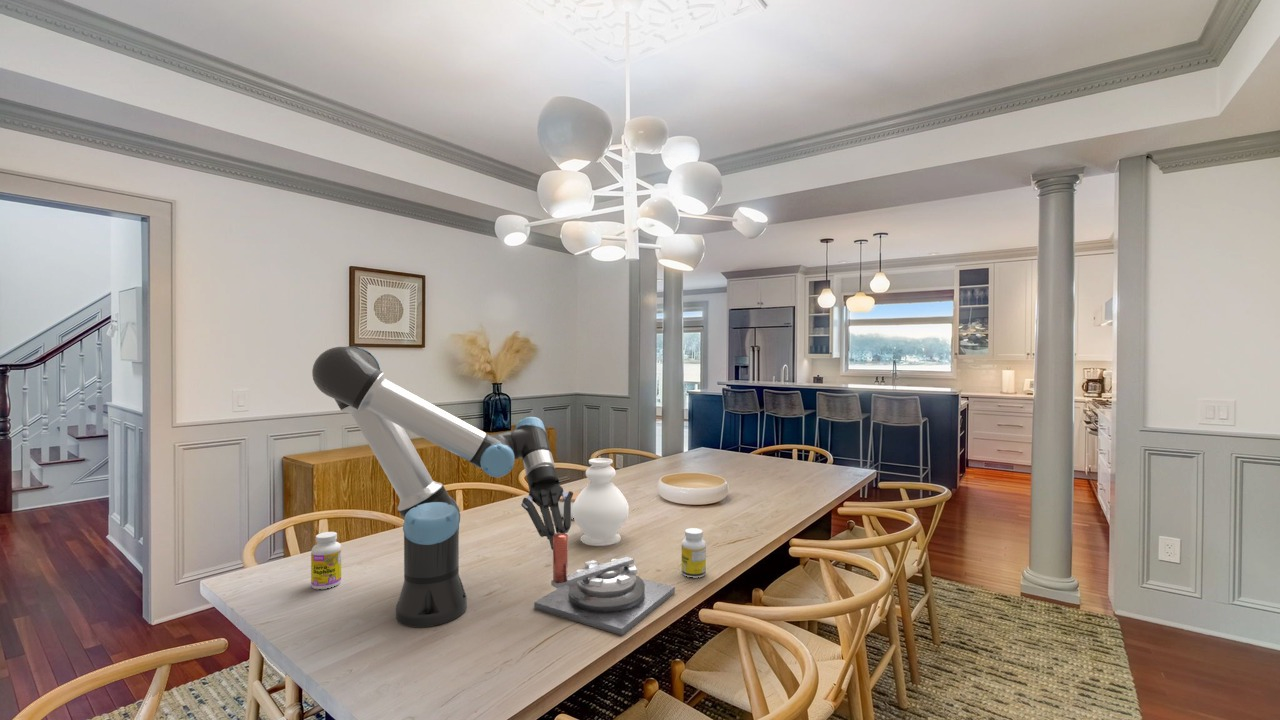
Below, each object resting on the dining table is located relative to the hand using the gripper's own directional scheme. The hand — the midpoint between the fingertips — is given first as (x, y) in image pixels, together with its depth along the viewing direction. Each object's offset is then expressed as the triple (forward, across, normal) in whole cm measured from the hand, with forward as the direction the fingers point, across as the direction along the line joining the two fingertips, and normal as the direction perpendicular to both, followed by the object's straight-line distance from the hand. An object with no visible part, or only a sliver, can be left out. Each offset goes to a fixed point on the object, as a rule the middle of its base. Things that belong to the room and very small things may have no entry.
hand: (562, 561), depth 127 cm
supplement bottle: (-20, +49, -37) cm, 65 cm away
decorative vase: (-19, -26, -39) cm, 51 cm away
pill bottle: (+6, -38, -12) cm, 40 cm away
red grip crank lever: (+6, -8, -5) cm, 11 cm away
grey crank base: (+8, -11, -8) cm, 16 cm away
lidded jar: (-38, -26, -58) cm, 74 cm away
